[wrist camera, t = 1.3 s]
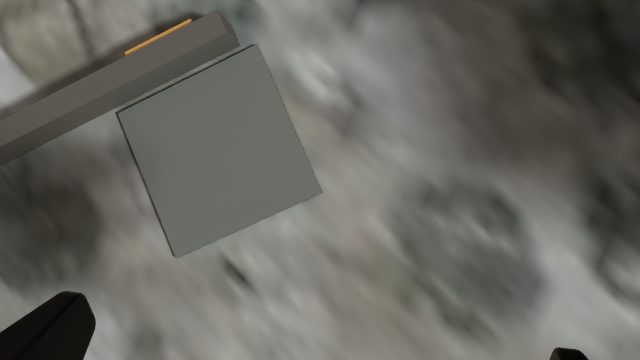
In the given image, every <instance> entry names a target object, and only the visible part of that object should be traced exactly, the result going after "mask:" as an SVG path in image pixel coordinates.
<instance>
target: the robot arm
mask: <svg viewBox="0 0 640 360" xmlns="http://www.w3.org/2000/svg"><path fill="white" fill-rule="evenodd" d="M95 325H96V321H95V317H94V314H93V312H92V310H91V308H90V305H89V303H88V301H87V299H86V297H85V295H84V294H82V293H78V292H69V291H64V292H61V293H59V294H57V295H56V296H54V297H53V298H51V299H50V300H48V301H47V302H45V303H44V304H42V305H41V306H39V307H38V308H36V309H35V310H33V311H32V312H30V313H29V314H27V315H26V316H24V317H23V318H21V319H20V320H18V321H17V322H15V323H14V324H12V325H11V326H9V327H8V328H6V329H5V330H3V331H2V332H0V360H83V359H84V356H85V353H86V351H87V348H88V346H89V343H90V341H91V338H92V336H93V333H94V330H95ZM550 360H588V359H587V357H586V356H585V355H584V354H583V353H582V352H581V351H579V350H576V349H568V348H560V347H559V348H555V349H554V350H553V352H552V355H551V357H550Z"/></svg>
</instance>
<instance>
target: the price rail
mask: <svg viewBox="0 0 640 360" xmlns="http://www.w3.org/2000/svg"><path fill="white" fill-rule="evenodd" d="M238 46H240V44H239V42H238V40H237V37H236V35H235V33H234V31H233V28H232V26H231V24H230V23H229V22H228V21H227V20H226V19H225V18H224V16H223V15H222V14H221V13H220V12H219V11H218V10H215V11H213V12H211V13H209V14H207V15H205V16H203V17H201V18H199V19H197V20H195V21H192V20H191V19H189V20H187V21H185V22H183V23H181V24H179V25H177V26H175V27H173V28H171V29H169V30H167V31H165V32H163V33H161V34H159V35H157V36H155V37H153V38H151V39H150V40H148V41H146V42H144V43H142V44H140V45H138V46H136V47H134V48H132V49H130V50H128V51H126V52H124V53H125V55H126V56H125V57H123V58H121V59H119V60H117V61H115V62H113V63H111V64H109V65H107V66H105V67H103V68H102V69H100V70H98V71H96V72H94V73H92V74H90V75H88V76H86V77H84V78H82V79H80V80H78V81H76V82H74V83H72V84H70V85H68V86H66V87H64V88H62V89H60V90H59V91H57V92H55V93H53V94H51V95H49V96H47V97H45V98H43V99H41V100H39V101H37V102H35V103H33V104H31V105H29V106H27V107H25V108H23V109H21V110H19V111H17V112H16V113H14V114H12V115H10V116H8V117H6V118H4V119H2V120H0V165H2V164H4V163H6V162H8V161H10V160H12V159H14V158H16V157H18V156H20V155H22V154H24V153H26V152H28V151H30V150H32V149H34V148H36V147H38V146H40V145H42V144H44V143H46V142H48V141H50V140H52V139H54V138H56V137H58V136H60V135H62V134H64V133H66V132H68V131H70V130H72V129H74V128H76V127H78V126H80V125H82V124H84V123H86V122H88V121H90V120H92V119H94V118H96V117H98V116H100V115H102V114H104V113H106V112H108V111H110V110H112V109H114V108H116V107H118V106H120V105H122V104H124V103H126V102H128V101H130V100H132V99H134V98H136V97H138V96H140V95H142V94H144V93H146V92H148V91H150V90H152V89H154V88H156V87H158V86H160V85H162V84H164V83H166V82H168V81H170V80H172V79H174V78H176V77H178V76H180V75H182V74H184V73H186V72H188V71H190V70H192V69H194V68H196V67H198V66H200V65H202V64H204V63H206V62H208V61H210V60H212V59H214V58H216V57H218V56H220V55H222V54H224V53H226V52H228V51H230V50H232V49H234V48H236V47H238ZM117 114H118V116H119V119H120V121H121V123H122V126H123V128H124V131H125V133H126V136H127V138H128V141H129V143H130V146H131V148H132V151H133V153H134V156H135V158H136V161H137V163H138V166H139V168H140V171H141V173H142V176H143V178H144V181H145V183H146V186H147V188H148V191H149V193H150V196H151V198H152V201H153V203H154V206H155V208H156V210H157V213H158V215H159V218H160V220H161V223H162V225H163V228H164V230H165V233H166V235H167V238H168V240H169V243H170V245H171V248H172V250H173V253H174V255H175V258H179V257H181V256H183V255H185V254H187V253H190V252H192V251H194V250H196V249H199V248H201V247H203V246H205V245H207V244H210V243H212V242H214V241H216V240H218V239H221V238H223V237H225V236H227V235H230V234H232V233H234V232H236V231H238V230H241V229H243V228H245V227H247V226H249V225H252V224H254V223H256V222H258V221H261V220H263V219H265V218H267V217H269V216H272V215H274V214H276V213H278V212H280V211H283V210H285V209H287V208H289V207H292V206H294V205H296V204H298V203H300V202H303V201H305V200H307V199H309V198H311V197H314V196H316V195H318V194H320V193H323V192H322V190H321V188H320V186H319V183H318V181H317V179H316V176H315V174H314V172H313V170H312V167H311V165H310V163H309V161H308V158H307V156H306V154H305V151H304V149H303V147H302V145H301V142H300V140H299V138H298V136H297V133H296V131H295V129H294V126H293V124H292V122H291V120H290V117H289V115H288V113H287V111H286V108H285V106H284V104H283V102H282V99H281V97H280V95H279V92H278V90H277V88H276V86H275V83H274V81H273V79H272V77H271V74H270V72H269V70H268V67H267V65H266V63H265V61H264V58H263V56H262V54H261V52H260V49H259V47H258V45H257V44H256V45H254V46H252V47H250V48H248V49H246V50H244V51H242V52H240V53H238V54H236V55H234V56H232V57H230V58H228V59H226V60H224V61H222V62H220V63H218V64H216V65H214V66H212V67H210V68H208V69H206V70H204V71H202V72H200V73H198V74H196V75H194V76H192V77H190V78H188V79H186V80H184V81H182V82H180V83H178V84H176V85H174V86H172V87H170V88H168V89H166V90H164V91H162V92H160V93H158V94H156V95H154V96H152V97H150V98H148V99H146V100H144V101H142V102H140V103H137V104H135V105H133V106H131V107H129V108H127V109H125V110H123V111H121V112H119V113H117Z"/></svg>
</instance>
